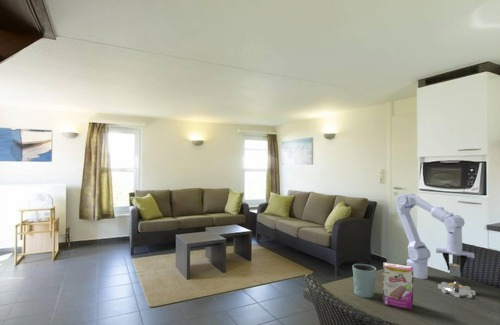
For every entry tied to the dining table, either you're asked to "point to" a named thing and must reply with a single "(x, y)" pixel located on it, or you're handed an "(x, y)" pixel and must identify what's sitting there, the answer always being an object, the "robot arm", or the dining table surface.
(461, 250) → the robot arm
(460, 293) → the sprocket
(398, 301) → the candy bar box
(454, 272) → the link block
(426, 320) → the dining table surface
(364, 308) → the dining table surface
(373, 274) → the teal cup
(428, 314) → the dining table surface
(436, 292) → the dining table surface
